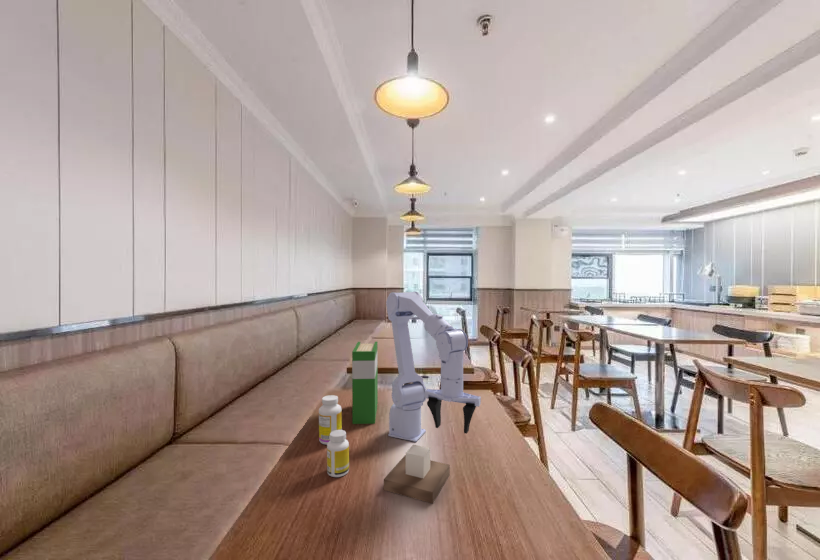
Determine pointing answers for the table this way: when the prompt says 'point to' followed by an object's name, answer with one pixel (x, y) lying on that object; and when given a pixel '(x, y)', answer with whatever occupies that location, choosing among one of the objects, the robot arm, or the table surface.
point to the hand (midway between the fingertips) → (451, 429)
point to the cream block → (418, 461)
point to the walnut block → (417, 481)
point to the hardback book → (364, 383)
